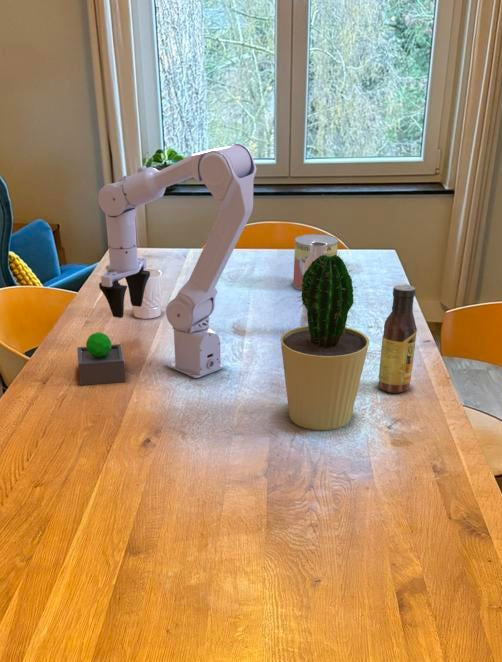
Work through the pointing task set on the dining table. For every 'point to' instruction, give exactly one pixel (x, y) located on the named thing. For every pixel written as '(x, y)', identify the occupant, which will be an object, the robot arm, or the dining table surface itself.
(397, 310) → the sauce bottle
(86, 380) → the grey box
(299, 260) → the canned food
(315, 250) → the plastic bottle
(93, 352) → the polyhedron
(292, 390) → the potted cactus
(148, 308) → the white cup
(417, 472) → the dining table surface
